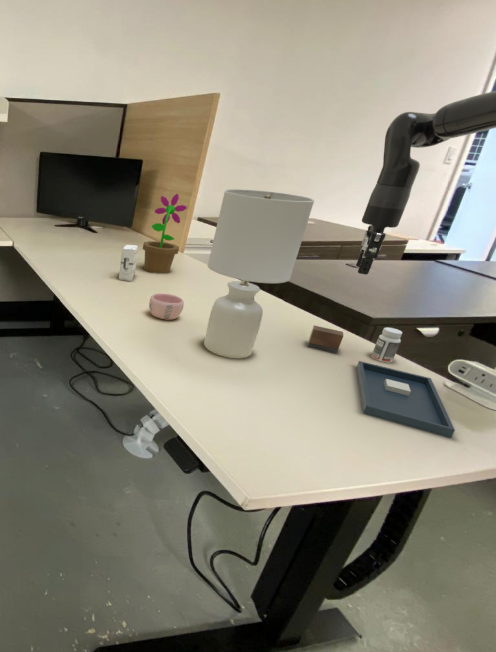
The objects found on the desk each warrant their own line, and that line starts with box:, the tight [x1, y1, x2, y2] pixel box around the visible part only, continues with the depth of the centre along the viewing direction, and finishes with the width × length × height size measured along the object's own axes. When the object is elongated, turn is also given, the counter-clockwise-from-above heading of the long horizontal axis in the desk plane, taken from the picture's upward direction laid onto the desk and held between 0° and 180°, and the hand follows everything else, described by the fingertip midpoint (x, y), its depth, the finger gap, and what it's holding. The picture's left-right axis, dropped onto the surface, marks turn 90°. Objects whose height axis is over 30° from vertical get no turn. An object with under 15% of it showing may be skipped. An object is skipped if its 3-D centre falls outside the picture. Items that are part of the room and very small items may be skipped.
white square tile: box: [384, 379, 411, 396], centre depth 107 cm, size 4×4×1 cm
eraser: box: [307, 325, 344, 355], centre depth 126 cm, size 7×4×6 cm, turn 60°
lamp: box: [203, 188, 315, 359], centre depth 114 cm, size 19×19×39 cm
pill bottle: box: [371, 326, 403, 364], centre depth 122 cm, size 5×5×8 cm
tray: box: [355, 360, 456, 439], centre depth 104 cm, size 26×15×2 cm, turn 150°
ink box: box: [118, 244, 139, 283], centre depth 175 cm, size 9×5×12 cm, turn 160°
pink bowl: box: [148, 292, 185, 320], centre depth 141 cm, size 12×10×6 cm
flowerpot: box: [142, 193, 188, 274], centre depth 184 cm, size 14×14×30 cm
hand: (361, 270), depth 119 cm, fingers open, 8 cm apart
